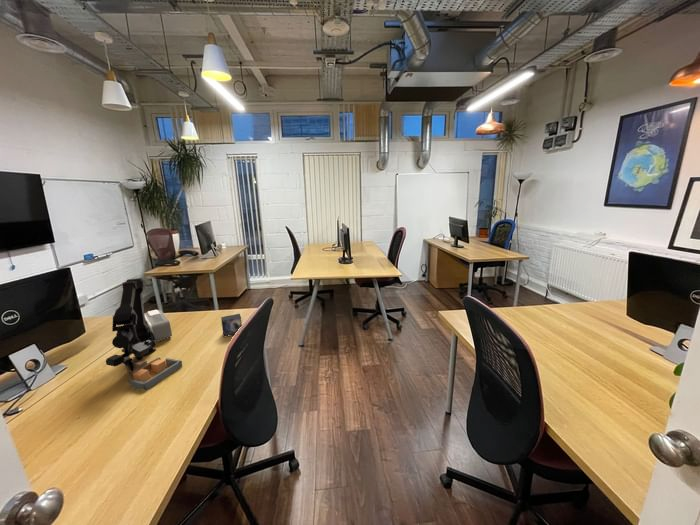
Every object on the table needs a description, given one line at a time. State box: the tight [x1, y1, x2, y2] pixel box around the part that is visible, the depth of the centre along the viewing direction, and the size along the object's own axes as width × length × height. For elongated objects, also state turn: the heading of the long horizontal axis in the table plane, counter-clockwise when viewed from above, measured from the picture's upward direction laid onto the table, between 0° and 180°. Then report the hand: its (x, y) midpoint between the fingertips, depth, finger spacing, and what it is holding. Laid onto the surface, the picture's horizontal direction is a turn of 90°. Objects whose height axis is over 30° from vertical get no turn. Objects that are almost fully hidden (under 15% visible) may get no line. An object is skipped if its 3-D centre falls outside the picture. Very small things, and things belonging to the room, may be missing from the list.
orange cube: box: [151, 358, 167, 374], centre depth 132 cm, size 4×4×4 cm
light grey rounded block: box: [144, 309, 173, 342], centre depth 168 cm, size 27×9×12 cm, turn 43°
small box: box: [220, 313, 243, 337], centre depth 166 cm, size 11×6×10 cm, turn 117°
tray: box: [128, 357, 183, 391], centre depth 127 cm, size 9×18×3 cm, turn 162°
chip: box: [133, 369, 151, 382], centre depth 125 cm, size 4×4×4 cm
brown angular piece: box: [124, 357, 162, 381], centre depth 130 cm, size 11×14×5 cm
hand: (135, 368), depth 131 cm, fingers closed on brown angular piece, 3 cm apart
